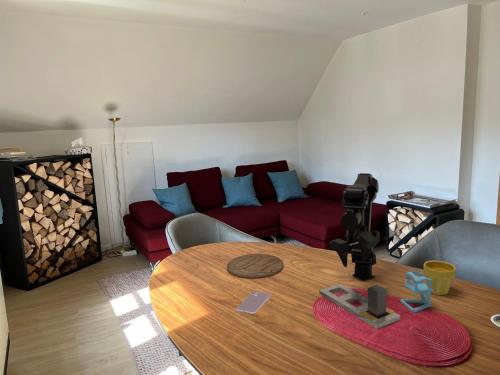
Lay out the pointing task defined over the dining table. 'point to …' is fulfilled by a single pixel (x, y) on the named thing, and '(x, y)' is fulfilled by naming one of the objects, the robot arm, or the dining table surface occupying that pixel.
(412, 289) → the light blue stand
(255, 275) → the trivet
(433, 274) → the plant pot
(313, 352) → the dining table surface
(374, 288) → the steel peg
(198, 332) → the dining table surface
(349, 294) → the grey slotted board
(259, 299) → the mobile phone
